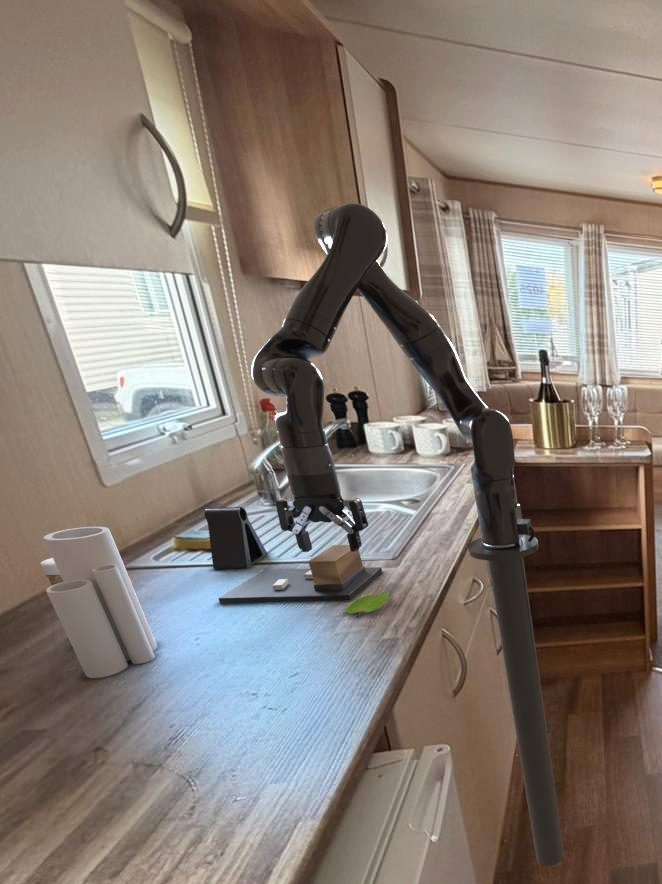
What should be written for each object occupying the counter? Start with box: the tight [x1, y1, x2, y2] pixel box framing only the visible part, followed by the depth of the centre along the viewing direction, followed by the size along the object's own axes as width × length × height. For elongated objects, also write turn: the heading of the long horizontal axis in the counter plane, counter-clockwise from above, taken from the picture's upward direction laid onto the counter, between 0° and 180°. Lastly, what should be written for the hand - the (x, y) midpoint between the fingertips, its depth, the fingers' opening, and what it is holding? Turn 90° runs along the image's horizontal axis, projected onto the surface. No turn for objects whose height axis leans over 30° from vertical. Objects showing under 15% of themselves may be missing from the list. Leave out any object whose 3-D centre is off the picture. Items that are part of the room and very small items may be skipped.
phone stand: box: [204, 506, 268, 570], centre depth 135 cm, size 9×6×12 cm, turn 15°
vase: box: [43, 526, 158, 679], centre depth 96 cm, size 11×7×20 cm, turn 31°
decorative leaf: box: [346, 592, 390, 618], centre depth 121 cm, size 8×9×1 cm
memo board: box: [218, 566, 383, 605], centre depth 127 cm, size 22×15×1 cm
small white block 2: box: [304, 570, 313, 579], centre depth 129 cm, size 2×3×1 cm, turn 10°
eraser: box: [308, 544, 366, 591], centre depth 127 cm, size 5×10×6 cm, turn 10°
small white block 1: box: [273, 579, 289, 590], centre depth 124 cm, size 2×3×1 cm, turn 20°
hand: (331, 550), depth 125 cm, fingers open, 8 cm apart
